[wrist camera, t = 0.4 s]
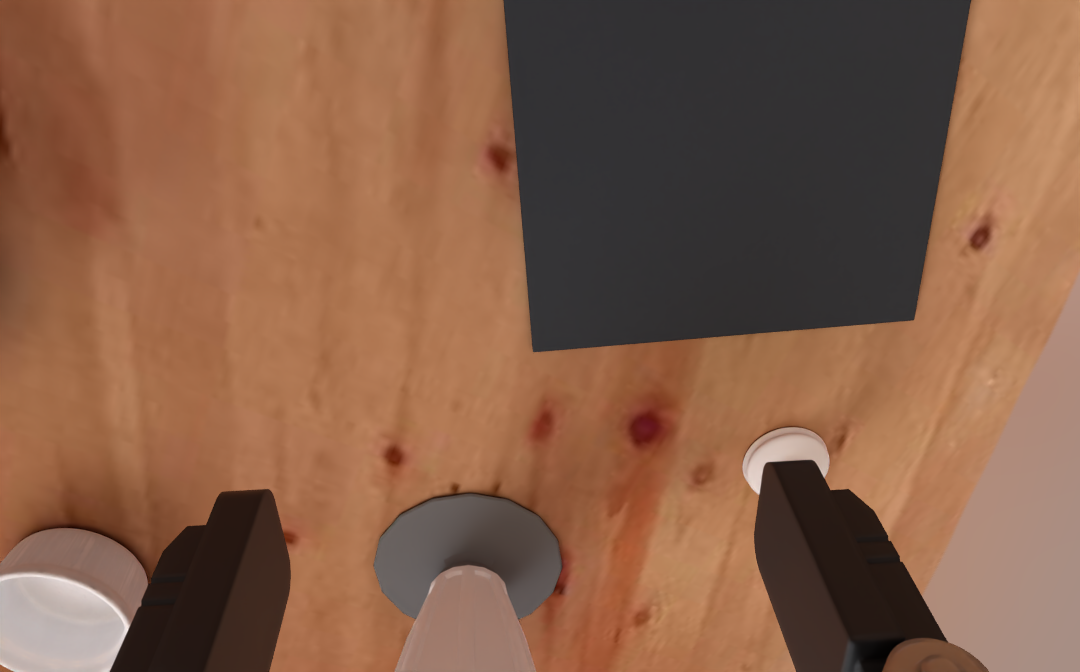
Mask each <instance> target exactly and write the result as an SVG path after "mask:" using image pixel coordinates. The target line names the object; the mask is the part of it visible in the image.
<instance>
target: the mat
mask: <svg viewBox="0 0 1080 672" xmlns="http://www.w3.org/2000/svg"><path fill="white" fill-rule="evenodd" d="M970 3H971V0H504V10H505V22H506V34H507V46H508V58H509V70H510V82H511V94H512V106H513V118H514V130H515V142H516V154H517V166H518V178H519V190H520V202H521V214H522V226H523V238H524V250H525V262H526V274H527V286H528V298H529V310H530V322H531V334H532V346H533V352H542V351H554V350H566V349H577V348H589V347H601V346H613V345H625V344H637V343H649V342H661V341H673V340H684V339H696V338H708V337H720V336H732V335H744V334H756V333H768V332H780V331H791V330H803V329H815V328H827V327H839V326H851V325H863V324H875V323H886V322H898V321H910V320H914V317H915V312H916V306H917V300H918V295H919V289H920V284H921V278H922V272H923V267H924V261H925V256H926V250H927V244H928V239H929V233H930V227H931V222H932V216H933V211H934V205H935V199H936V194H937V188H938V182H939V177H940V171H941V166H942V160H943V154H944V149H945V143H946V138H947V132H948V126H949V121H950V115H951V109H952V104H953V98H954V93H955V87H956V81H957V76H958V70H959V64H960V59H961V53H962V48H963V42H964V36H965V31H966V25H967V20H968V14H969V8H970Z"/></svg>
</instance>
